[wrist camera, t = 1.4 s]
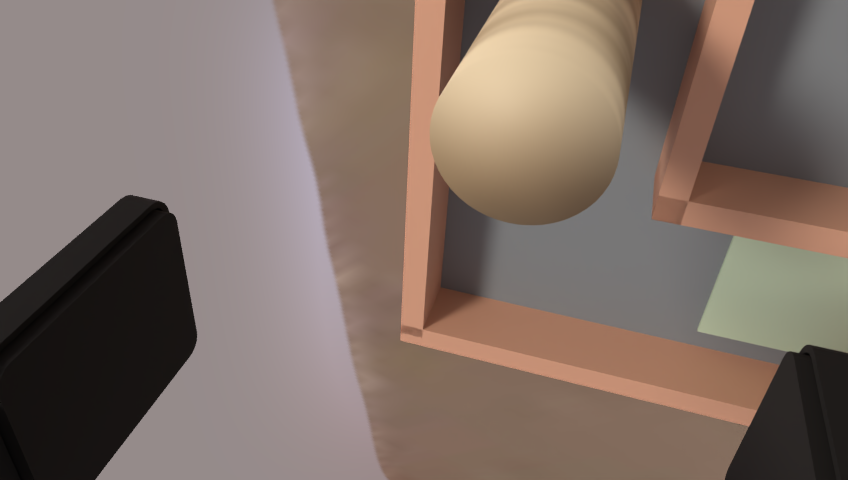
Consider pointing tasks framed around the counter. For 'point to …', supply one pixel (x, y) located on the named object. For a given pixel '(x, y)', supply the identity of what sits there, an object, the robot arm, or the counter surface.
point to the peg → (538, 108)
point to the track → (656, 215)
